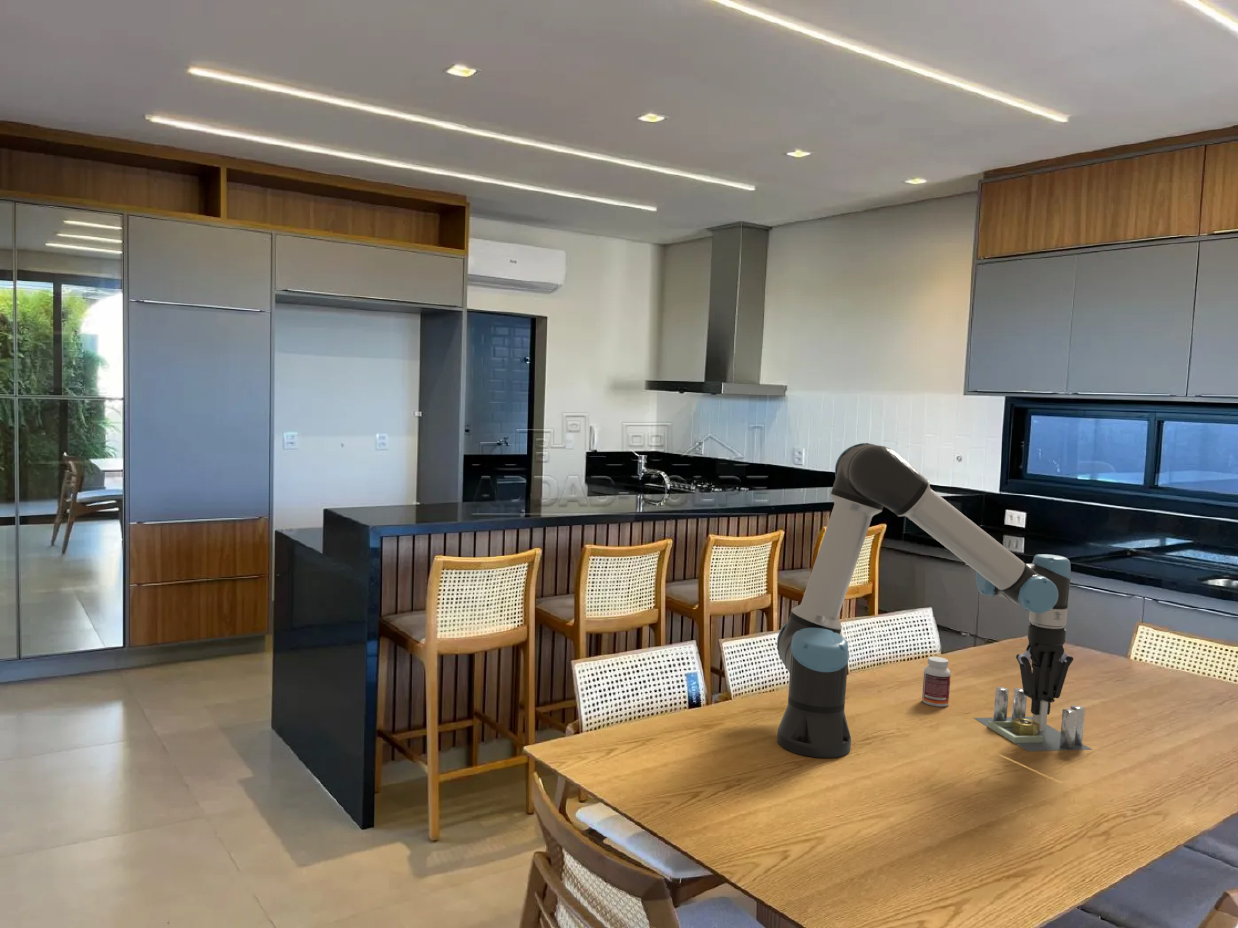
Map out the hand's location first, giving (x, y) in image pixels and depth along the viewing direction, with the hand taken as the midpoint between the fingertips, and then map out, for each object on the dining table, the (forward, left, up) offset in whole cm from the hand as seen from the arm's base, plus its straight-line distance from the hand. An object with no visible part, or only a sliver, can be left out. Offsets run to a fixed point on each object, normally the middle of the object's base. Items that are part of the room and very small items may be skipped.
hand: (1039, 728), depth 199 cm
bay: (-6, 0, -2) cm, 6 cm away
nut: (-3, 0, -1) cm, 3 cm away
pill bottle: (-13, +22, -2) cm, 25 cm away
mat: (-2, 0, -2) cm, 2 cm away
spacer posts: (0, 0, -1) cm, 1 cm away
